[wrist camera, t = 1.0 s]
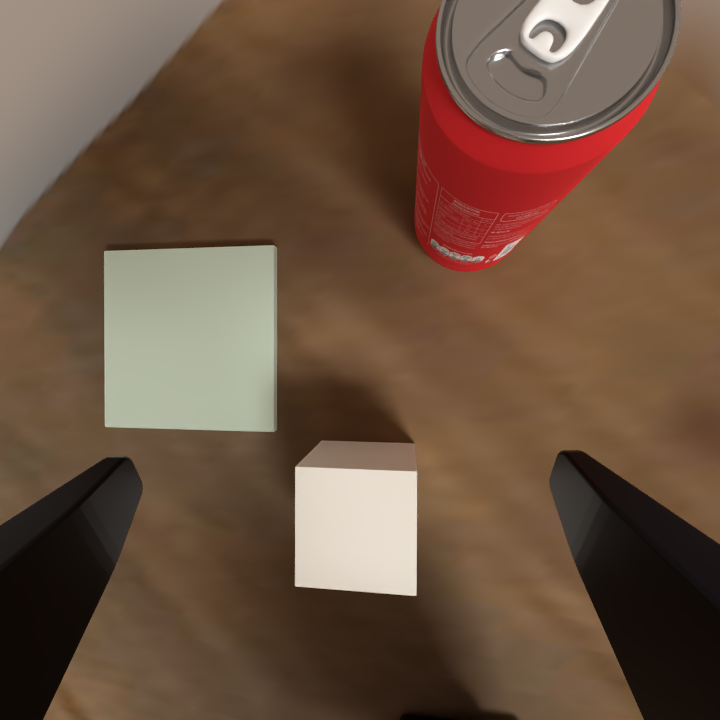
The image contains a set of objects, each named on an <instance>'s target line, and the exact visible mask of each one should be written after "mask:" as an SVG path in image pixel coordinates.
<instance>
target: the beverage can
mask: <svg viewBox="0 0 720 720" xmlns="http://www.w3.org/2000/svg"><path fill="white" fill-rule="evenodd" d="M680 23H681V0H442V2H441V5H440V7H439V9H438V11H437V13H436V15H435V17H434V19H433V21H432V24H431V26H430V29H429V32H428V35H427V39H426V43H425V47H424V53H423V62H422V79H421V99H420V119H419V139H418V158H417V178H416V198H415V231H416V235H417V238H418V240H419V243H420V245H421V246H422V248H423V249H424V251H425V252H426V253H427V255H428V256H429V257H430V258H432V259H433V260H434V261H435V262H437V263H438V264H440V265H442V266H444V267H446V268H449V269H452V270H456V271H464V272H470V271H478V270H482V269H485V268H488V267H490V266H492V265H494V264H496V263H498V262H499V261H501V260H502V259H503V258H504V257H506V256H507V255H508V254H509V253H510V252H511V251H512V250H513V249H514V248H515V247H516V246H517V245H518V244H519V243H520V242H521V241H522V240H523V239H524V238H525V237H526V236H527V235H528V234H529V233H530V232H531V231H532V230H533V229H534V228H535V227H536V226H537V225H538V224H539V223H540V222H541V221H542V220H543V218H544V217H545V216H546V215H547V214H548V213H549V212H550V211H551V210H552V209H553V208H554V207H555V206H556V205H557V204H558V203H559V202H560V201H561V200H562V199H563V198H564V197H565V196H566V195H567V194H568V193H569V192H570V191H571V190H572V189H573V188H574V187H575V186H576V185H577V184H578V183H579V182H580V181H581V180H582V179H583V178H584V177H585V176H586V175H587V174H588V173H589V172H590V171H591V170H592V169H593V168H594V167H595V166H596V165H597V164H598V163H599V162H600V161H601V160H602V159H603V158H604V157H605V156H606V155H607V154H608V153H609V152H610V151H611V150H612V149H613V148H614V147H615V146H616V145H617V144H618V143H619V142H620V141H621V140H622V139H623V138H624V137H625V136H626V135H627V134H628V133H629V132H630V130H631V129H632V128H633V127H634V126H635V125H636V124H637V122H638V121H639V120H640V118H641V117H642V116H643V114H644V113H645V111H646V109H647V108H648V106H649V104H650V103H651V101H652V99H653V97H654V95H655V92H656V90H657V88H658V85H659V82H660V79H661V77H662V75H663V74H664V72H665V70H666V68H667V66H668V64H669V62H670V60H671V58H672V55H673V52H674V50H675V47H676V43H677V40H678V36H679V31H680Z"/></svg>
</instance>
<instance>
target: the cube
mask: <svg viewBox="0 0 720 720" xmlns="http://www.w3.org/2000/svg"><path fill="white" fill-rule="evenodd" d="M295 586H296V587H309V588H321V589H334V590H347V591H359V592H372V593H384V594H397V595H409V596H416V590H417V466H416V454H415V443H388V442H355V441H323V440H322V441H321V442H320V443H319V444H318V445H317V446H316V447H315V448H314V449H313V450H312V451H311V452H310V453H309V454H308V455H307V456H306V457H305V458H304V459H302V460H301V461H300V462H299V463H298V464H297V465H296V466H295Z"/></svg>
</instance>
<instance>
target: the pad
mask: <svg viewBox="0 0 720 720" xmlns="http://www.w3.org/2000/svg"><path fill="white" fill-rule="evenodd" d="M104 349H105V427H124V428H157V429H191V430H225V431H259V432H275V431H276V430H277V247H276V246H274V245H266V246H236V247H207V248H178V249H148V250H119V251H104Z"/></svg>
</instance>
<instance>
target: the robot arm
mask: <svg viewBox="0 0 720 720" xmlns="http://www.w3.org/2000/svg"><path fill="white" fill-rule="evenodd" d="M549 482H550V489H551V492H552V495H553V499H554V502H555V505H556V508H557V511H558V514H559V517H560V520H561V523H562V526H563V529H564V532H565V535H566V538H567V542H568V545H569V548H570V551H571V553H572V556H573V559H574V562H575V564H576V567H577V569H578V571H579V574H580V576H581V578H582V581H583V583H584V585H585V587H586V590H587V592H588V594H589V596H590V599H591V601H592V603H593V605H594V608H595V610H596V612H597V614H598V617H599V619H600V621H601V623H602V626H603V628H604V630H605V633H606V635H607V637H608V639H609V642H610V644H611V646H612V648H613V651H614V653H615V655H616V657H617V660H618V662H619V664H620V666H621V669H622V671H623V673H624V675H625V678H626V680H627V682H628V684H629V687H630V689H631V691H632V694H633V696H634V698H635V700H636V703H637V705H638V707H639V709H640V712H641V714H642V716H643V718H644V720H720V544H718V543H717V542H716V541H714V540H713V539H711V538H710V537H708V536H707V535H705V534H704V533H702V532H701V531H699V530H698V529H696V528H695V527H693V526H692V525H691V524H689V523H688V522H686V521H685V520H683V519H682V518H680V517H679V516H677V515H676V514H674V513H673V512H671V511H670V510H668V509H667V508H666V507H664V506H663V505H661V504H660V503H658V502H657V501H655V500H654V499H652V498H651V497H649V496H648V495H646V494H645V493H643V492H642V491H640V490H639V489H638V488H636V487H635V486H633V485H632V484H630V483H629V482H627V481H626V480H624V479H623V478H621V477H620V476H618V475H617V474H615V473H614V472H613V471H611V470H610V469H608V468H607V467H605V466H604V465H602V464H601V463H599V462H598V461H596V460H595V459H593V458H592V457H590V456H589V455H588V454H586V453H584V452H583V451H579V450H564V451H561V452H559V453H558V455H557V458H556V461H555V464H554V467H553V470H552V473H551V476H550V481H549ZM142 489H143V486H142V481H141V479H140V477H139V475H138V472H137V470H136V468H135V466H134V464H133V461H132V460H131V459H130V458H129V457H126V456H111V457H107V458H105V459H103V460H101V461H100V462H98V463H97V464H95V465H94V466H92V467H91V468H89V469H87V470H86V471H84V472H83V473H81V474H80V475H78V476H77V477H75V478H73V479H72V480H70V481H69V482H67V483H66V484H64V485H63V486H61V487H59V488H58V489H56V490H55V491H53V492H52V493H50V494H49V495H47V496H45V497H44V498H42V499H41V500H39V501H38V502H36V503H35V504H33V505H31V506H30V507H28V508H27V509H25V510H24V511H22V512H20V513H19V514H17V515H16V516H14V517H13V518H11V519H10V520H8V521H6V522H5V523H3V524H2V525H0V720H43V719H44V716H45V714H46V712H47V710H48V708H49V706H50V704H51V702H52V700H53V697H54V695H55V693H56V691H57V689H58V687H59V685H60V683H61V680H62V678H63V676H64V674H65V672H66V670H67V668H68V666H69V664H70V661H71V659H72V657H73V655H74V653H75V651H76V649H77V647H78V645H79V642H80V640H81V638H82V636H83V634H84V632H85V630H86V628H87V626H88V623H89V621H90V619H91V617H92V615H93V613H94V611H95V609H96V607H97V604H98V602H99V600H100V598H101V596H102V594H103V592H104V590H105V588H106V585H107V583H108V581H109V579H110V577H111V575H112V572H113V570H114V568H115V566H116V563H117V561H118V558H119V556H120V553H121V550H122V548H123V545H124V542H125V539H126V536H127V534H128V531H129V528H130V525H131V522H132V520H133V517H134V514H135V511H136V509H137V506H138V503H139V500H140V497H141V494H142ZM400 720H452V719H443V718H435V717H427V716H418V715H410V714H406V715H403V716H402V717H401V718H400Z"/></svg>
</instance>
